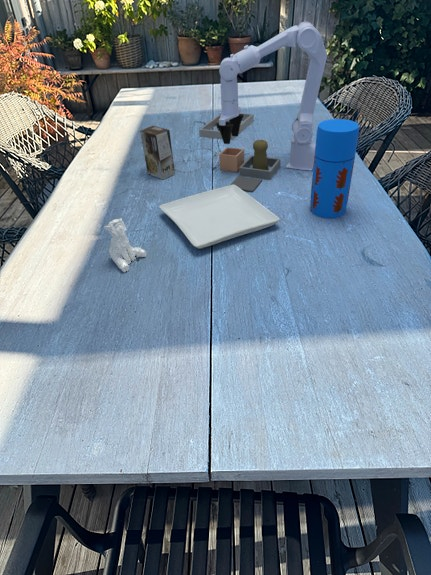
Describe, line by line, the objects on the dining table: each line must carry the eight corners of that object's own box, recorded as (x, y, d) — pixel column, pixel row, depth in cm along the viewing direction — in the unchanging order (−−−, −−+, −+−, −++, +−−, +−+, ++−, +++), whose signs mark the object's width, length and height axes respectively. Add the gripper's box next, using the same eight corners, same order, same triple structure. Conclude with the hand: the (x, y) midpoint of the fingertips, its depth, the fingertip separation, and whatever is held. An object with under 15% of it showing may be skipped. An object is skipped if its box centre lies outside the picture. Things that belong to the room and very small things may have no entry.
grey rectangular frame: (280, 166, 150) (280, 158, 148) (270, 179, 142) (270, 171, 140) (250, 163, 154) (250, 155, 152) (239, 175, 146) (239, 167, 144)
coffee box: (176, 174, 151) (170, 129, 141) (162, 180, 147) (156, 135, 137) (159, 168, 156) (153, 124, 146) (146, 174, 152) (139, 130, 142)
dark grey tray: (253, 120, 192) (253, 114, 190) (232, 139, 174) (231, 132, 172) (223, 118, 197) (222, 111, 195) (199, 136, 180) (198, 129, 178)
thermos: (347, 203, 126) (361, 119, 111) (344, 220, 119) (358, 133, 103) (312, 199, 130) (320, 117, 114) (306, 216, 122) (314, 131, 106)
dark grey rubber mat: (262, 181, 142) (262, 179, 142) (252, 192, 136) (252, 190, 135) (238, 177, 145) (238, 176, 145) (228, 188, 139) (228, 187, 139)
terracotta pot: (244, 164, 153) (244, 149, 150) (237, 172, 149) (236, 156, 145) (227, 162, 156) (226, 147, 152) (219, 170, 151) (218, 154, 147)
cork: (267, 175, 145) (268, 144, 138) (250, 174, 147) (250, 144, 140) (269, 167, 150) (270, 137, 143) (252, 167, 151) (252, 137, 144)
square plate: (196, 258, 109) (195, 246, 107) (159, 215, 128) (157, 204, 126) (281, 229, 118) (281, 217, 116) (234, 192, 137) (234, 182, 135)
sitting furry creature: (125, 274, 105) (115, 234, 97) (101, 265, 109) (89, 226, 101) (148, 255, 111) (141, 216, 103) (124, 247, 115) (115, 209, 107)
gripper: (227, 92, 143) (228, 131, 152) (209, 104, 133) (212, 145, 142) (245, 93, 141) (246, 133, 149) (229, 106, 131) (231, 148, 139)
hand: (231, 139), depth 146 cm, fingers open, 7 cm apart
